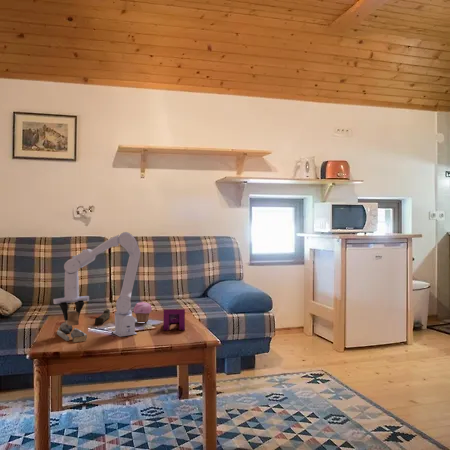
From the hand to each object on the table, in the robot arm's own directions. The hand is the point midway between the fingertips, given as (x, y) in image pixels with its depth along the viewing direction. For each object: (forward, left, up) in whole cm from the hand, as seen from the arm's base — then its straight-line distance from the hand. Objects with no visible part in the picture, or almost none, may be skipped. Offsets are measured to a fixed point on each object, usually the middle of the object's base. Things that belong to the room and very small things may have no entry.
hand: (71, 319), depth 194 cm
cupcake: (+7, -36, -7) cm, 37 cm away
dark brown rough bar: (+22, -22, -8) cm, 32 cm away
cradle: (0, 0, -7) cm, 7 cm away
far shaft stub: (+8, 0, -7) cm, 11 cm away
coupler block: (0, 0, -2) cm, 2 cm away
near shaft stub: (-8, 0, -7) cm, 11 cm away
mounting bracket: (-10, -44, -8) cm, 46 cm away
